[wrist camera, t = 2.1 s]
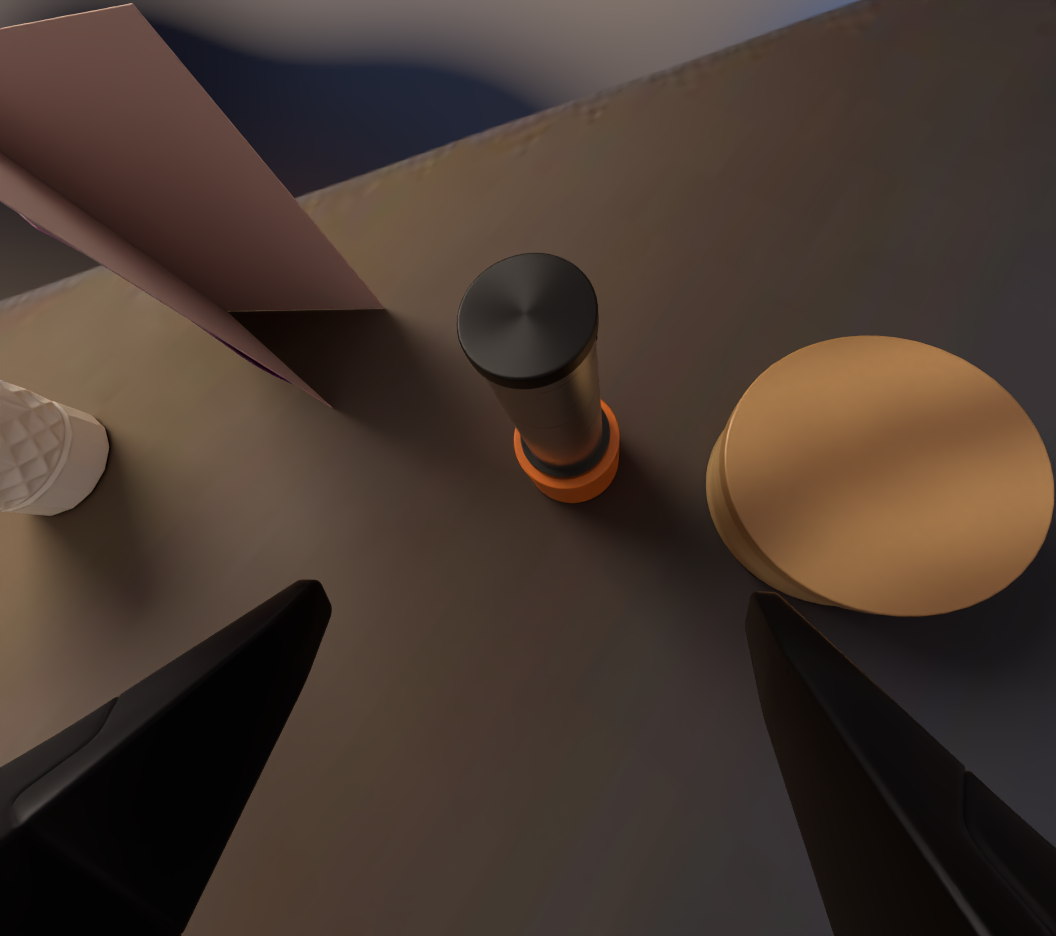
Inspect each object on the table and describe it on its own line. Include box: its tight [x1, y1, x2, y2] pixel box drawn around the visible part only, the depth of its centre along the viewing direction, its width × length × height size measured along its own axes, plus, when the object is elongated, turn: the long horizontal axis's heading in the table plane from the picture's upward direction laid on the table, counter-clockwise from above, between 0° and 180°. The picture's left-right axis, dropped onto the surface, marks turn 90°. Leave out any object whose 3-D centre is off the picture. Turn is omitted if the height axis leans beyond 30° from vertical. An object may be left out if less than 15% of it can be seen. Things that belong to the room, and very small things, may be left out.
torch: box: [457, 253, 620, 503], centre depth 17 cm, size 5×5×13 cm
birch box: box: [706, 336, 1054, 617], centre depth 18 cm, size 10×10×4 cm
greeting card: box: [0, 3, 385, 409], centre depth 21 cm, size 11×7×15 cm, turn 49°
